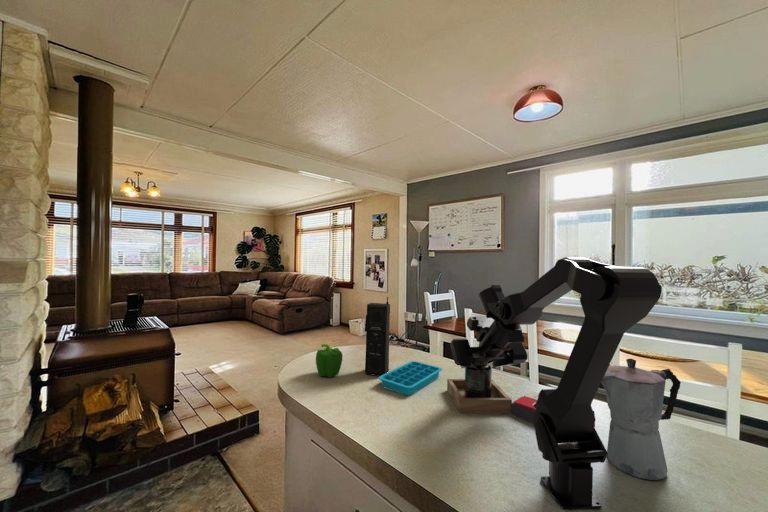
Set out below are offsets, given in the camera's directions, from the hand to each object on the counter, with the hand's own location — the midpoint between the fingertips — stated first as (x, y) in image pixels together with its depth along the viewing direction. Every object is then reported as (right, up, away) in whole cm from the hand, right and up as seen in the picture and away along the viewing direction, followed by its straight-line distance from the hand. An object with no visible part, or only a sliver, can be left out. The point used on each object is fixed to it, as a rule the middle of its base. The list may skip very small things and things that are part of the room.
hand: (477, 366), depth 84 cm
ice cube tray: (-17, -10, +12) cm, 23 cm away
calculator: (+15, -10, -9) cm, 20 cm away
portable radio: (-28, -9, +19) cm, 35 cm away
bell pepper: (-43, -9, +16) cm, 47 cm away
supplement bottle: (0, -9, -1) cm, 9 cm away
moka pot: (+23, -10, -25) cm, 35 cm away
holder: (0, -9, 0) cm, 9 cm away
